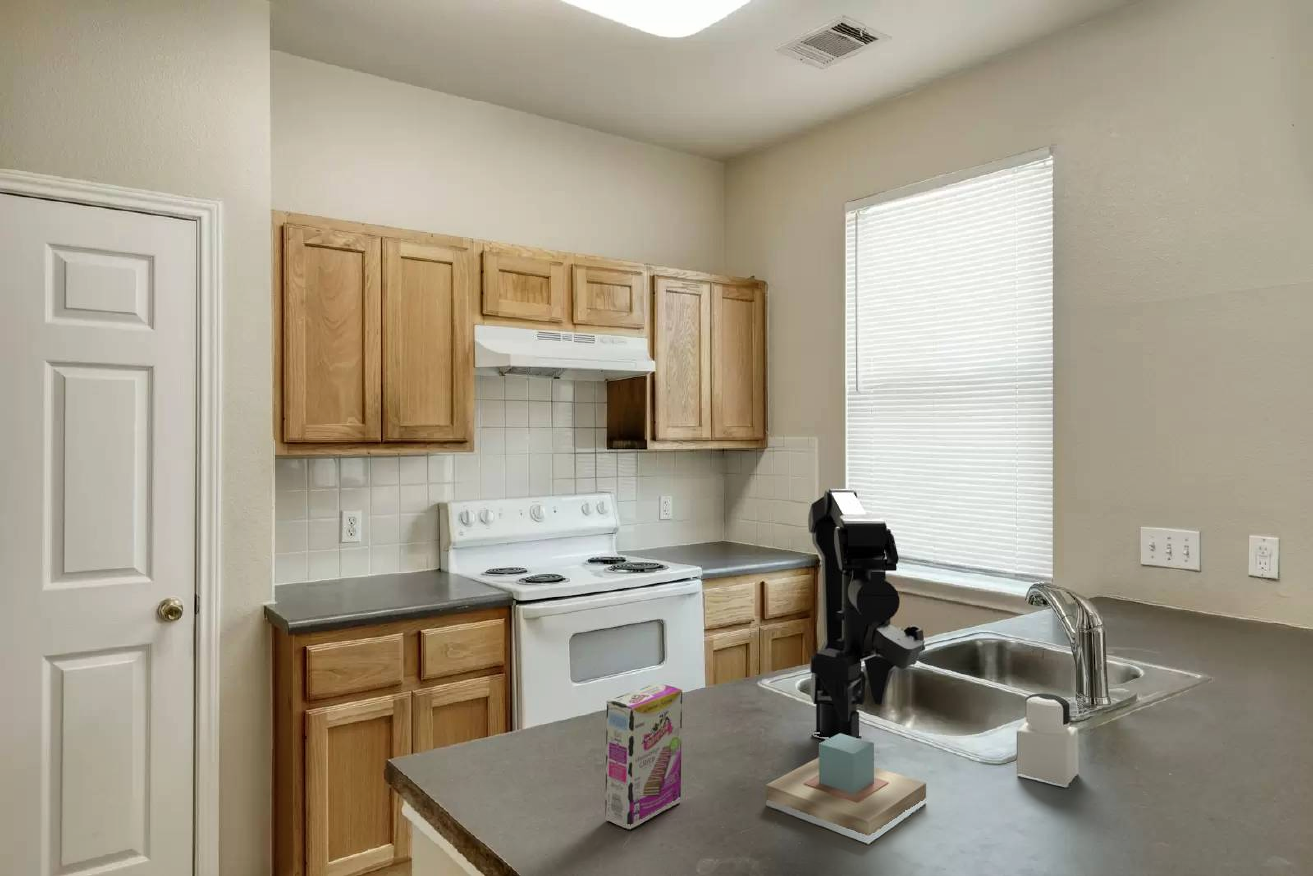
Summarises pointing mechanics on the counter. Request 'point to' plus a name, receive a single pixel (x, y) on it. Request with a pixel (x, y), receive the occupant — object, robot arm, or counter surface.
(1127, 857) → the counter surface
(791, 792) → the stack base
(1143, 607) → the counter surface
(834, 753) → the teal block
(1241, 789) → the counter surface
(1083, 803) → the counter surface
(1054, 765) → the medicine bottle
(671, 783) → the candy bar box
